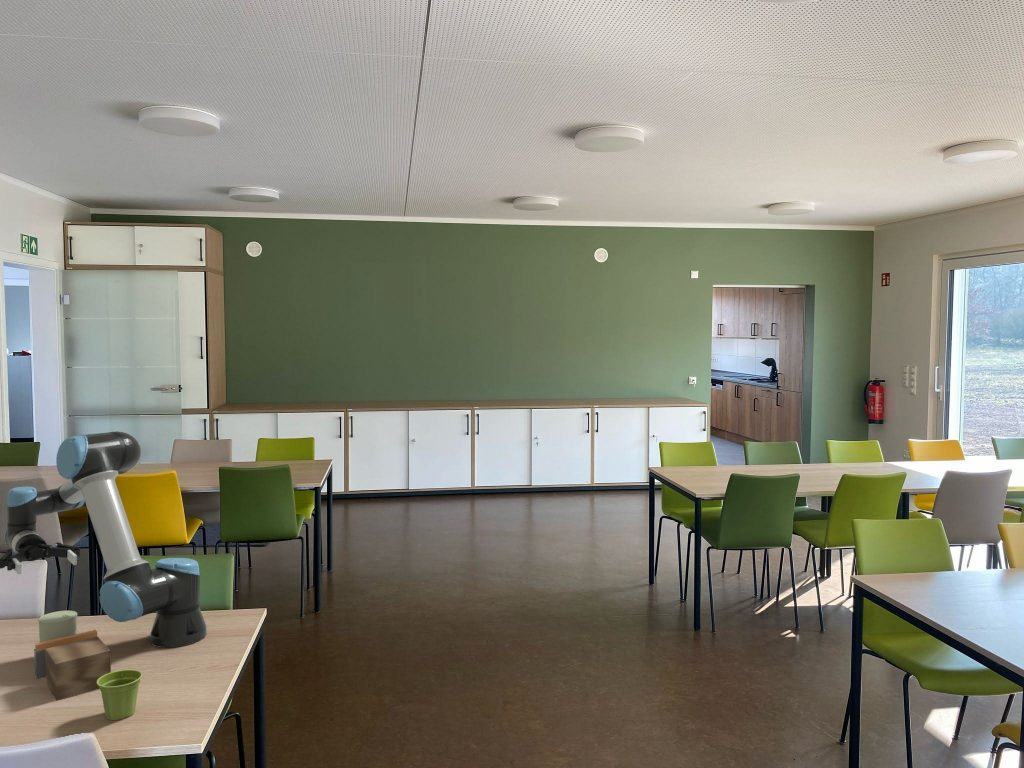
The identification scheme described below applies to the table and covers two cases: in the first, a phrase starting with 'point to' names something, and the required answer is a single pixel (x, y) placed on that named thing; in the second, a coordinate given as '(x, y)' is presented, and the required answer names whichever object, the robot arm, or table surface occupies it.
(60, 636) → the can
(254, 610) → the table surface
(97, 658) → the walnut stand
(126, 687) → the plant pot
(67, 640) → the terracotta bar
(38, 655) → the hurdle posts
